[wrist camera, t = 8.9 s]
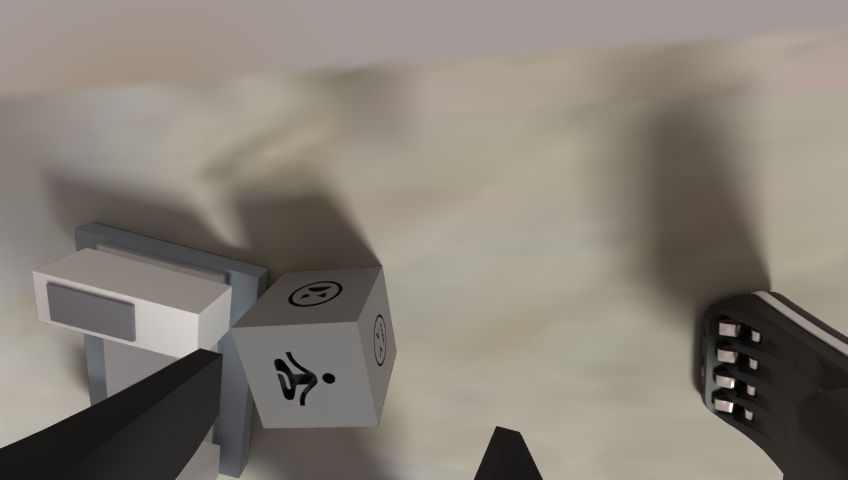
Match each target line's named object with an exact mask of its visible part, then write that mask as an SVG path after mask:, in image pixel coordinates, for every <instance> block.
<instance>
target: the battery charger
mask: <svg viewBox="0 0 848 480" xmlns="http://www.w3.org/2000/svg"><path fill="white" fill-rule="evenodd" d="M700 391H701V398H702V401H703V403H704V405H705V406H706V407H707V408H708V409H709V410H710V411H711V412H713V413H714V414H715V415H717V416H718V417H719V418H721V419H722V420H723V421H725V422H726V423H728V424H729V425H731V426H733V427H734V428H736V429H737V430H739V431H740V432H742V433H743V434H745V435H746V436H747V437H748V438H750V439H751V440H752V441H753V442H755V443H756V444H757V445H758V446H759V447H760V448H761V449H763V450H764V451H765V453H766V454H767V455H768V456H769V457H770V458H771V459H772V460H773V462H774V463H775V464H776V465H777V466H778V467H779V469H780V470H781V471H782V473H783V474H784V475H783V480H848V337H846V336H845V335H843V334H841V333H840V332H838V331H836V330H835V329H833V328H832V327H830V326H828V325H827V324H825V323H824V322H822V321H821V320H819V319H818V318H816V317H814V316H813V315H811V314H810V313H808V312H806V311H805V310H803V309H802V308H800V307H799V306H797V305H796V304H794V303H793V302H792V301H790V300H789V299H787V298H786V297H784V296H783V295H781V294H779V293H776V292H765V291H757V292H752V293H751V294H749V295H741V296H736V297H733V298H729V299H726V300H723V301H721V302H718V303H716V304H715V305H713V306H712V307H711V308H710V309H709V310H708V311H707V312H706V314H705V318H704V322H703V333H702V353H701V384H700Z"/></svg>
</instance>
